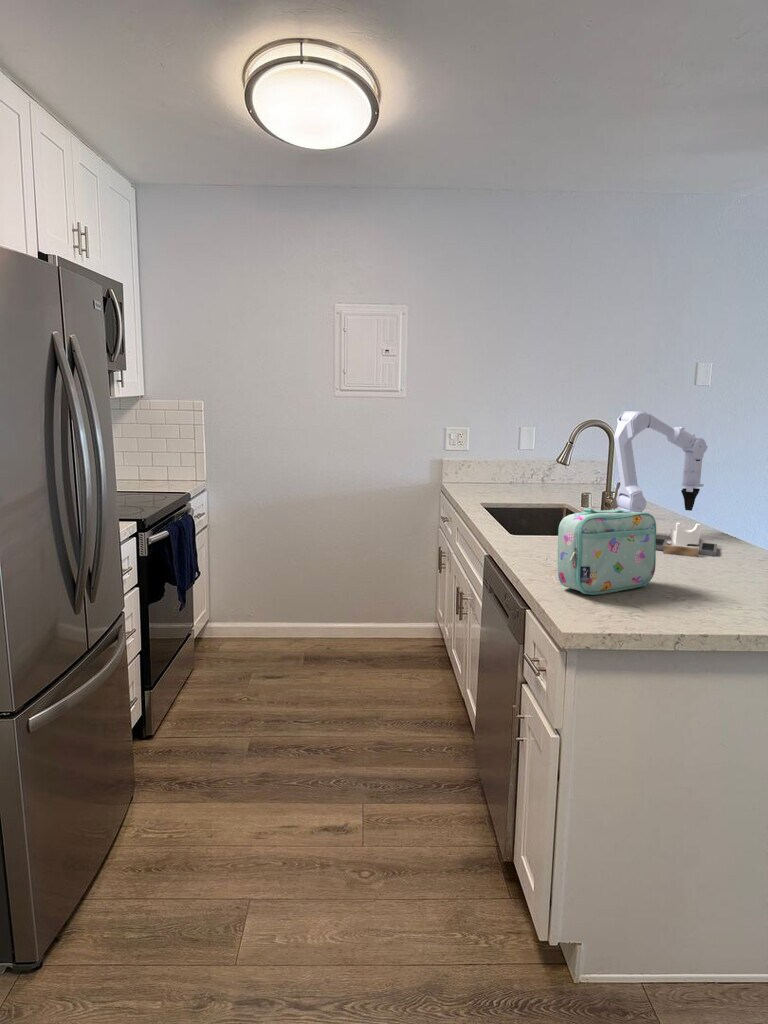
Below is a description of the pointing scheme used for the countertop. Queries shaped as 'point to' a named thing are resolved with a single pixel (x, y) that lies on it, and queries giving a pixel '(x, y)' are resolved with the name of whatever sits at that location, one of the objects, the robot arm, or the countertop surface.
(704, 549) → the trap pits
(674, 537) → the bracket
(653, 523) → the lunch box
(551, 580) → the countertop surface
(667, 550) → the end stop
